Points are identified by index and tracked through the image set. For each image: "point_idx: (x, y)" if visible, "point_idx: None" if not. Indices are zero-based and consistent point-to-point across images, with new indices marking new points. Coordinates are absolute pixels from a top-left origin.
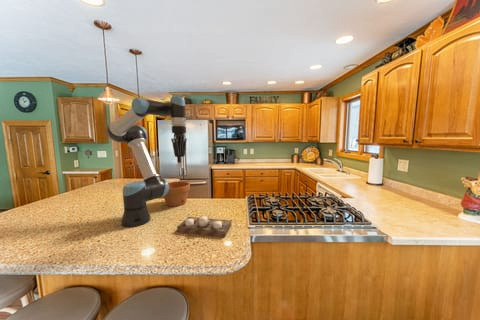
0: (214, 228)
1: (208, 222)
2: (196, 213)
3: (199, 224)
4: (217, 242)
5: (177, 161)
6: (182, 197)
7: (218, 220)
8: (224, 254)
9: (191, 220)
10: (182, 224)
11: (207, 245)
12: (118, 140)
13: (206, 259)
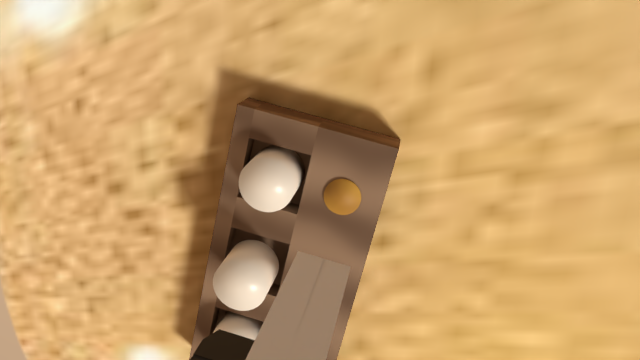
0: (220, 322)
1: None
2: (558, 168)
3: (235, 247)
4: (150, 318)
5: (199, 344)
6: None
7: None
8: (67, 343)
9: (260, 200)
10: (268, 131)
11: (123, 276)
12: None
13: (28, 278)
